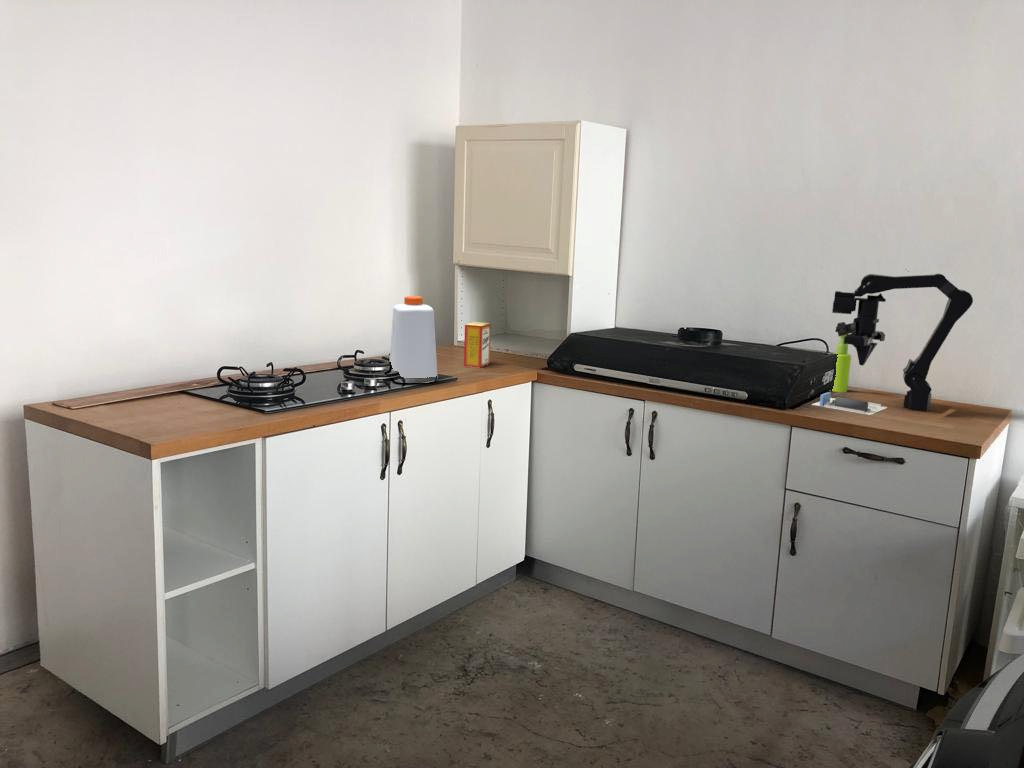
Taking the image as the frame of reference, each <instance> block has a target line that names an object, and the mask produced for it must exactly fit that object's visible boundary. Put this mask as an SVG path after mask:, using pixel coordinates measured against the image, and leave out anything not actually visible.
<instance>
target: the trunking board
mask: <svg viewBox="0 0 1024 768" xmlns="http://www.w3.org/2000/svg"><path fill="white" fill-rule="evenodd" d="M831 395H832V391H827V392H825V393H822V394H820V397H819V399H820V400H819V401H818V402H815V403H814V402H813V403H812V404H811V406H817V407H823V408H827V409H835V410H840V411H845V412H852V413H858V414H863V415H869V416H871V415H874V414H876V413H878V412H881V411H883V410H885V409H888V407H887V406H883V405H882V404H881V403H875V402H870V401H867V402H868V409H867V411H866V412H865V411H861V410H855V409H849V408H843V407H838V406H835V399H836V397H835V398H834V397H832V396H831Z"/></svg>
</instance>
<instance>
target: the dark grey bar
mask: <svg viewBox="0 0 1024 768" xmlns="http://www.w3.org/2000/svg"><path fill="white" fill-rule="evenodd" d="M868 402H869V401H864V400H859V399H852V398H847V397H840V396H837V397H835V406H838V407H843V408H849V409H855V410H861V411H865V412H866V411H867V409H868Z"/></svg>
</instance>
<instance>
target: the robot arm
mask: <svg viewBox="0 0 1024 768" xmlns="http://www.w3.org/2000/svg"><path fill="white" fill-rule="evenodd" d="M919 288H921V289H922V288H936V289H938V290H939V291H940V292H941V293H942V294H944V296H945V297H947V298H948V300H947V301H946V305H945V307H944V311H943V314H942V317H941V319H940V320H939V321H938V324H937V325H936V326H935V329H934V330H933V331H932V334H931V335H930V337H929V338H928V340H927V342H926V343H925V345H924V347H923V348H922V351H921V352H920V353H919V355H918V356H917V357H916V358H915V359H914V360H912V358H909V359H908V362H907V364H906V366H905V367H904V368H903V369H902V371H903V372H902V374H903V375H902V377H903V380H904V381H903V382H904V383H905V385H906V386H907V387H908V388H910V390H906V395H904V399H903V409H908V410H911V411H916V412H928V411H930V409H931V400H932V386H931V385H930V383H929V382H928V381H927V380H926V379H927V376H928V374H929V371H930V368H931V364H932V362H933V360H934V359H935V356H936V355H937V354H938V352H939V350H940V349H941V347H942V345H943V344H944V343H945V341H946V339H947V337H948V335H949V334H950V332H951V331H952V329H953V327H954V325H955V324H956V323H957V321H958V320H960V318H962V316H964V314H966V312H968V310H969V309H970V308H971V307H972V305H973V301H974V299H973V296H972V294H971V293H970V292H968V291H966V290H965V289H959V288H958V287H957V286H956V285H954V284H953V283H952V282H950V281H949V280H948V279H947V278H946V276H945V275H944V274H942V273H934V274H923V275H922V274H921V275H920V274H919V275H917V274H916V275H901V276H900V275H899V276H892V275H883V274H875V273H870V274H866V275H864V276H863V277H862V279H861V281H860V285H859V286H858V287H857V288H856V289H855V290H854V291H853V292H849V291H847V292H845V291H839V290H835V292H834V300H832V301H833V303H832V309H831V310H832V314H844V315H851V314H852V312H856V308H857V315H856V317H855V318H854V319H853V321H852V322H851V323H846V322H845V321H843V322H838V323H837V324H836V325H837V326H836V327H835V333H837V335H838V337H840V336H843V335H846V336H845V337H844V344H848V345H852V346H853V347H854V348H855V350H856V355H857V358H858V364H859V366H865V364H866V362H867V361H868V359H869V358H870V356H871V354H872V353H873V352H874V349H875V348H876V346H877V345H878V342H874V341H877V340H878V341H879V342H884V341H885V339H886V334H885V333H884V332H883V331H881V330H880V331H879V330H877V323H880V319H879V318H878V314H879V313H878V312H879V306H880V305H879V303H880V302H883V303H885V302H886V301H887V299H886V298H885V297H884V296H883V294H882V292H886V291H892V290H901V289H919ZM878 293H879V294H878ZM874 294H877V295H874ZM865 295H867V297H863V296H865ZM857 301H858V307H857Z"/></svg>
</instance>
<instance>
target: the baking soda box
mask: <svg viewBox="0 0 1024 768" xmlns="http://www.w3.org/2000/svg"><path fill="white" fill-rule="evenodd" d="M491 325H492V323H491V322H479V321H473V322H469V323H465V324H464V347H463V348H464V351H463V353H464V354H463V355H464V356H463V367H464V366H472V367H483V366H485V365H487V366H489V365H490V363H491V361H490V360H491V359H490V357H491V328H492V327H491ZM488 364H489V365H488ZM485 367H486V366H485ZM483 368H484V367H483Z"/></svg>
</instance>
